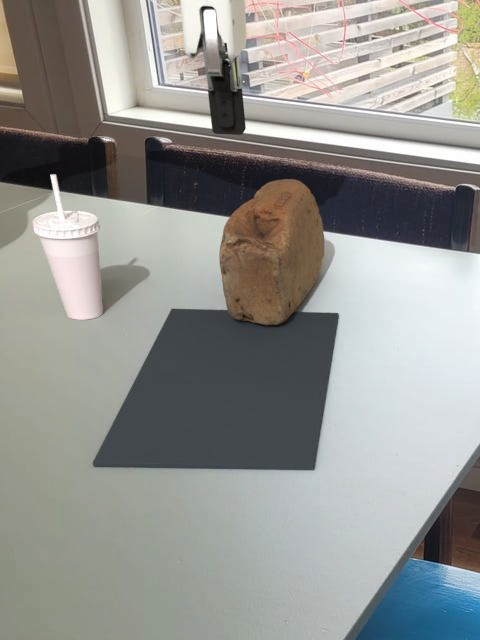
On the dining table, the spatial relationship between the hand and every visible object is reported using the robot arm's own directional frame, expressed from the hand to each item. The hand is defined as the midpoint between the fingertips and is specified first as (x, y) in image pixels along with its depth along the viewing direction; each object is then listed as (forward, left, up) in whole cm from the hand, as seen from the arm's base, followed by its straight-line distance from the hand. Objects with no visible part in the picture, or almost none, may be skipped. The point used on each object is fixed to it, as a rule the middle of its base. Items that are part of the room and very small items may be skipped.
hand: (229, 132), depth 103 cm
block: (+5, +8, -11) cm, 15 cm away
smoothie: (-16, -8, -17) cm, 25 cm away
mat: (+2, -24, -17) cm, 29 cm away
